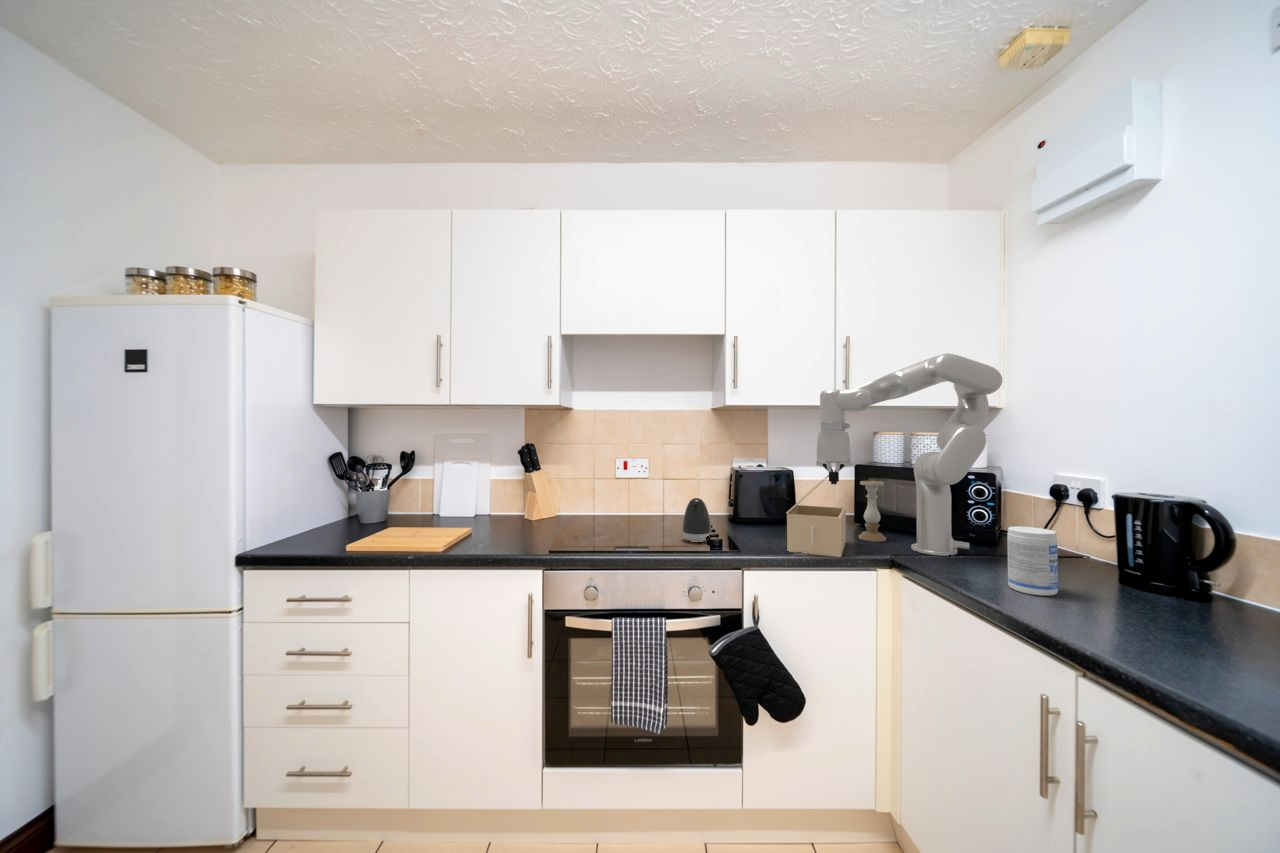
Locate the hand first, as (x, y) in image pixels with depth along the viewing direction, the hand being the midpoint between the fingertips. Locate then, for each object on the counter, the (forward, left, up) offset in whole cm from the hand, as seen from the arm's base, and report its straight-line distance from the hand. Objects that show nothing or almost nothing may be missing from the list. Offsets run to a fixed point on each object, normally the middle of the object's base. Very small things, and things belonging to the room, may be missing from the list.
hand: (833, 483), depth 161 cm
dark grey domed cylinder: (+44, +9, -21) cm, 50 cm away
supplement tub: (-47, +23, -21) cm, 56 cm away
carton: (+5, +2, -21) cm, 22 cm away
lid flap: (+8, 0, -4) cm, 8 cm away
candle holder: (-11, -20, -21) cm, 31 cm away
